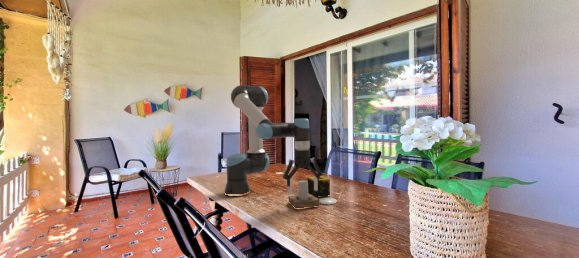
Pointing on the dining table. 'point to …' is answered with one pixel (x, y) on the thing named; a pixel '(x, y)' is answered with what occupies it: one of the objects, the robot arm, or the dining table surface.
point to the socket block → (304, 201)
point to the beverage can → (303, 190)
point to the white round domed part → (327, 200)
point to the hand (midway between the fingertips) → (303, 191)
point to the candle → (319, 186)
